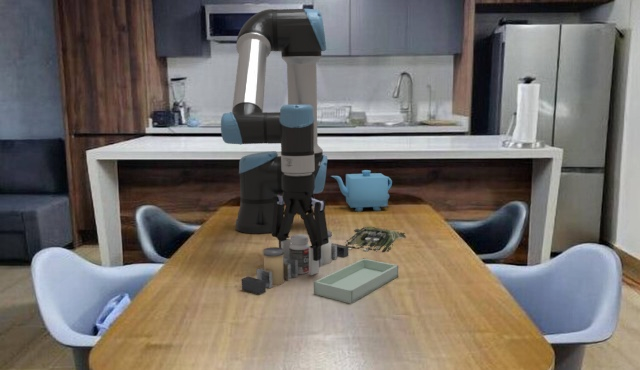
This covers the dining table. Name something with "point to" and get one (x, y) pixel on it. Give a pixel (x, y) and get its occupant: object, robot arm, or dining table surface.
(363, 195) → the teapot
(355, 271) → the tray
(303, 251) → the pill bottle
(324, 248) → the grey lidded jar
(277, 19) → the robot arm
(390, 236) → the circuit board
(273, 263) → the cylinder
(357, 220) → the dining table surface
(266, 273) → the clip row
